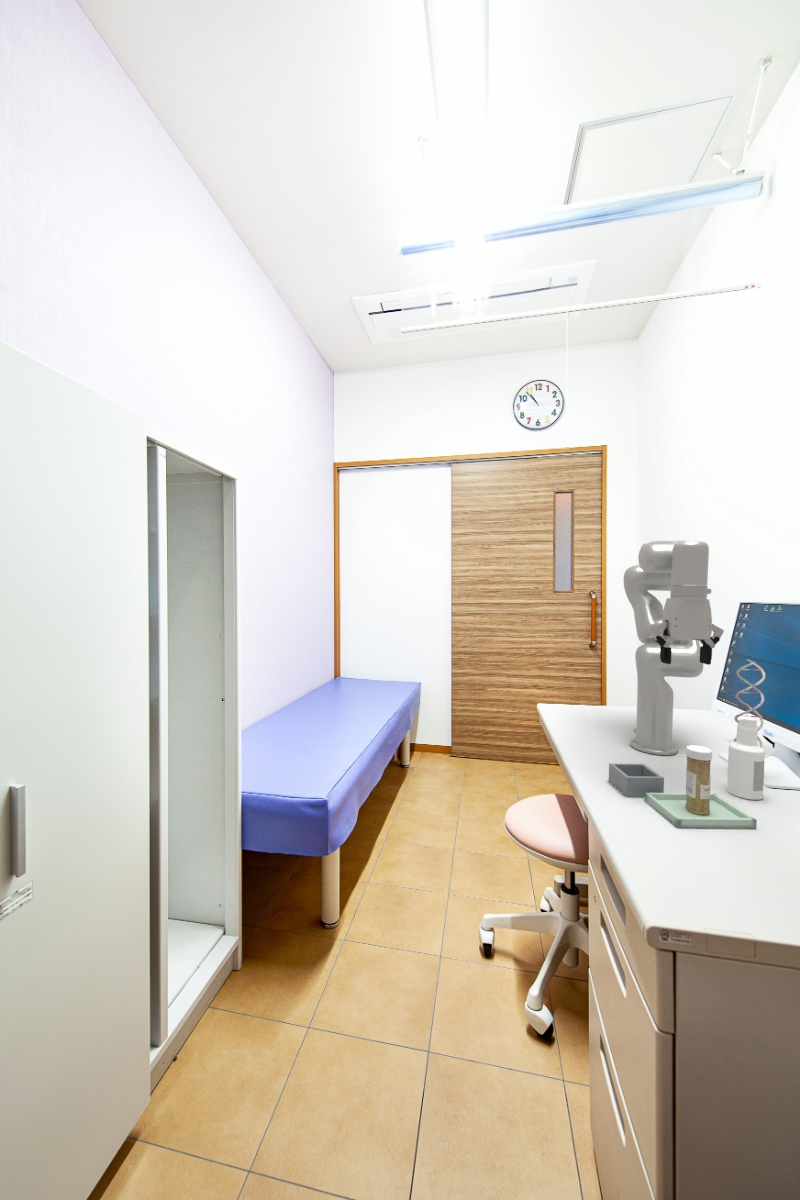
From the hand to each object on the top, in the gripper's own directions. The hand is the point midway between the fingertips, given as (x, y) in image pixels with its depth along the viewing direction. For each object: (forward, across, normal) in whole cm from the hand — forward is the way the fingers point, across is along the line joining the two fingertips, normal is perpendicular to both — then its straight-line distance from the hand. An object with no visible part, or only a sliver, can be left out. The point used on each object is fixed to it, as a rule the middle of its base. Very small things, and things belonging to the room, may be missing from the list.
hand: (685, 663), depth 113 cm
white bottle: (+30, -12, +5) cm, 33 cm away
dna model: (+30, -21, -6) cm, 37 cm away
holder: (+30, +13, +3) cm, 33 cm away
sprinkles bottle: (+29, +6, +15) cm, 33 cm away
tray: (+30, +6, +15) cm, 34 cm away
